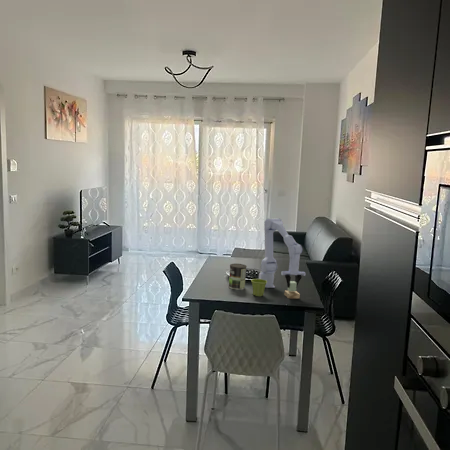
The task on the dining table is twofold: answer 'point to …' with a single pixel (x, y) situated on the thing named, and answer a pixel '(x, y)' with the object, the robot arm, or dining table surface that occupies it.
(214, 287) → the dining table surface
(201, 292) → the dining table surface
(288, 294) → the oak block
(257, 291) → the plant pot
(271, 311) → the dining table surface
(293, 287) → the sage cube
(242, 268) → the coffee can
